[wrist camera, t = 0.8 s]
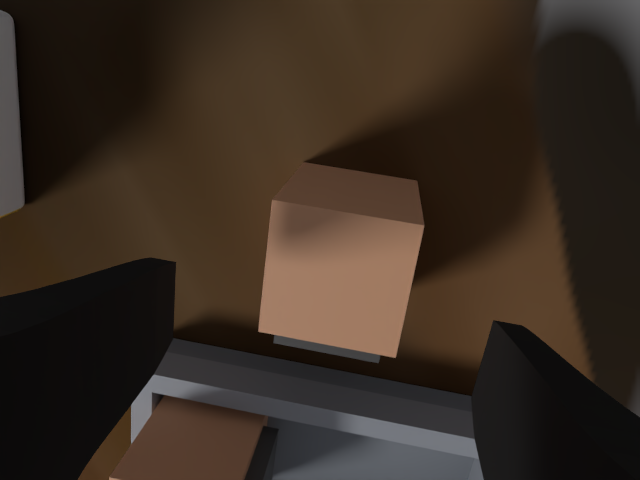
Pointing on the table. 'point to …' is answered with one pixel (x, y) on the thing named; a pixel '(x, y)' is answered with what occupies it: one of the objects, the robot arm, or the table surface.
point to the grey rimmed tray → (291, 423)
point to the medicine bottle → (9, 123)
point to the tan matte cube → (341, 261)
